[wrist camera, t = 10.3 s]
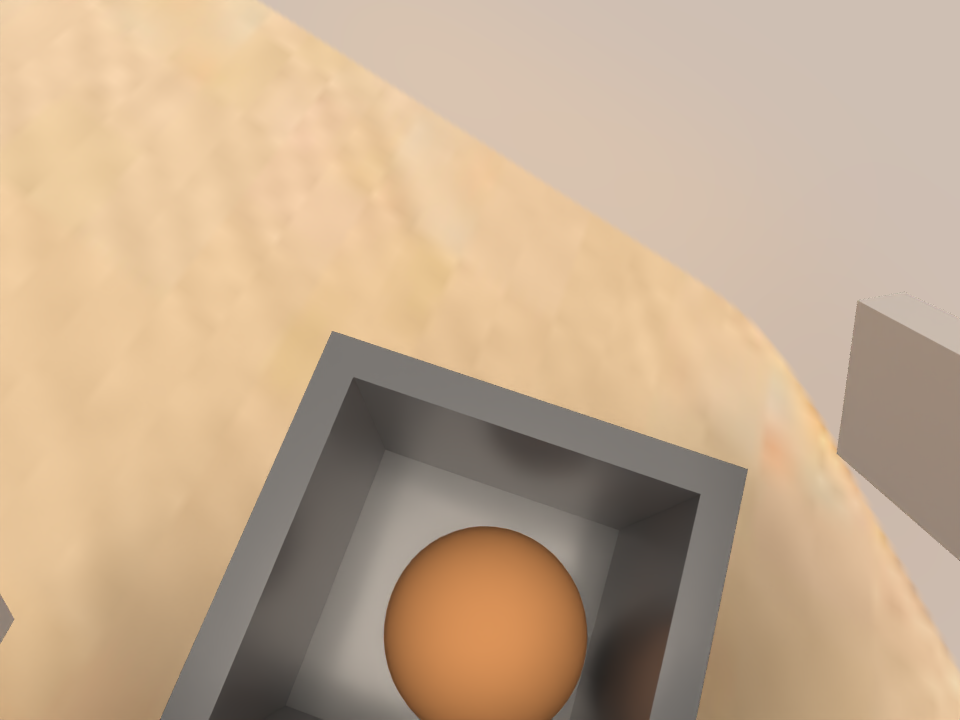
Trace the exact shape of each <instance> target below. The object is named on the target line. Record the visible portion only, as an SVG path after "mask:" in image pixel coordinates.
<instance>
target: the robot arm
mask: <svg viewBox="0 0 960 720" xmlns="http://www.w3.org/2000/svg"><path fill="white" fill-rule="evenodd" d="M837 454H838V455H839V456H840V457H841V458H842V459H843V460H845V461H846V462H847V463H848V464H849V465H850V466H851V467H853V468H854V469H855V470H856V471H857V472H858V473H859V474H861V475H862V476H863V477H864V478H865V479H867V480H868V481H869V482H870V483H871V484H872V485H873V486H874V487H876V488H877V489H878V490H879V491H880V492H881V493H882V494H884V495H885V496H886V497H887V498H888V499H889V500H891V501H892V502H893V503H894V504H895V505H896V506H897V507H899V508H900V509H901V510H902V511H903V512H904V513H905V514H907V515H908V516H909V517H910V518H911V519H912V520H913V521H915V522H916V523H917V524H918V525H919V526H920V527H921V528H923V529H924V530H925V531H926V532H927V533H928V534H930V535H931V536H932V537H933V538H934V539H935V540H936V541H938V542H939V543H940V544H941V545H942V546H943V547H944V548H946V549H947V550H948V551H949V552H950V553H951V554H953V555H954V556H955V557H956V558H957V559H958V560H959V561H960V318H958V317H957V316H955V315H952V314H950V313H948V312H946V311H944V310H942V309H940V308H937V307H935V306H933V305H931V304H929V303H927V302H925V301H923V300H921V299H919V298H916V297H914V296H912V295H910V294H908V293H906V292H902V293H896V294H891V295H885V296H879V297H874V298H868V299H863V300H858V301H857V309H856V316H855V323H854V330H853V338H852V346H851V352H850V360H849V367H848V374H847V382H846V389H845V397H844V404H843V411H842V419H841V426H840V433H839V440H838V448H837ZM13 621H14V618H13V616H12V614H11V612H10V611H9V609H8V607H7V605H6V603H5V602H4V600H3V598H2V596H1V595H0V643H1V642H2V640H3V638H4V637H5V635H6V633H7V631H8V630H9V628H10V626H11V624H12V623H13Z"/></svg>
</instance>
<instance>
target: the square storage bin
mask: <svg viewBox="0 0 960 720" xmlns="http://www.w3.org/2000/svg"><path fill="white" fill-rule="evenodd" d="M747 471H748V469H745V468H742V467H739V466H736V465H733V464H730V463H727V462H724V461H721V460H718V459H715V458H712V457H709V456H706V455H703V454H700V453H697V452H694V451H691V450H688V449H685V448H682V447H679V446H676V445H673V444H670V443H667V442H664V441H661V440H658V439H655V438H652V437H649V436H646V435H643V434H640V433H637V432H634V431H631V430H628V429H625V428H622V427H619V426H616V425H613V424H610V423H607V422H604V421H601V420H598V419H595V418H592V417H589V416H586V415H583V414H580V413H577V412H574V411H571V410H568V409H565V408H562V407H559V406H556V405H553V404H550V403H547V402H544V401H541V400H538V399H535V398H532V397H529V396H526V395H523V394H520V393H517V392H514V391H511V390H508V389H505V388H502V387H499V386H496V385H493V384H490V383H487V382H484V381H481V380H478V379H475V378H472V377H469V376H466V375H463V374H460V373H457V372H454V371H451V370H448V369H445V368H442V367H439V366H436V365H433V364H430V363H427V362H424V361H421V360H418V359H415V358H412V357H409V356H406V355H403V354H400V353H397V352H394V351H391V350H388V349H385V348H382V347H379V346H376V345H373V344H370V343H367V342H364V341H361V340H358V339H355V338H352V337H349V336H346V335H343V334H340V333H337V332H334V331H332V333H331V335H330V337H329V340H328V342H327V344H326V346H325V349H324V351H323V353H322V355H321V358H320V360H319V362H318V364H317V367H316V369H315V371H314V373H313V376H312V378H311V380H310V382H309V385H308V387H307V389H306V391H305V394H304V396H303V398H302V400H301V403H300V405H299V407H298V409H297V412H296V414H295V416H294V418H293V421H292V423H291V425H290V427H289V430H288V432H287V434H286V437H285V439H284V441H283V443H282V446H281V448H280V450H279V452H278V455H277V457H276V459H275V461H274V464H273V466H272V468H271V470H270V473H269V475H268V477H267V479H266V482H265V484H264V486H263V488H262V491H261V493H260V495H259V497H258V500H257V502H256V504H255V506H254V509H253V511H252V513H251V515H250V518H249V520H248V522H247V525H246V527H245V529H244V531H243V534H242V536H241V538H240V540H239V543H238V545H237V547H236V549H235V552H234V554H233V556H232V558H231V561H230V563H229V565H228V567H227V570H226V572H225V574H224V576H223V579H222V581H221V583H220V585H219V588H218V590H217V592H216V594H215V597H214V599H213V601H212V603H211V606H210V608H209V610H208V612H207V615H206V617H205V619H204V622H203V624H202V626H201V628H200V631H199V633H198V635H197V637H196V640H195V642H194V644H193V646H192V649H191V651H190V653H189V655H188V658H187V660H186V662H185V664H184V667H183V669H182V671H181V673H180V676H179V678H178V680H177V682H176V685H175V687H174V689H173V691H172V694H171V696H170V698H169V700H168V703H167V705H166V707H165V710H164V712H163V714H162V716H161V719H160V720H421V719H419V718H418V717H417V716H416V715H415V714H414V712H413V711H412V710H411V709H410V708H409V707H408V705H407V704H406V703H405V701H404V700H403V698H402V697H401V695H400V694H399V692H398V690H397V688H396V686H395V684H394V682H393V680H392V677H391V674H390V671H389V669H388V665H387V660H386V655H385V648H384V623H385V617H386V610H387V607H388V603H389V600H390V596H391V594H392V592H393V589H394V587H395V584H396V583H397V581H398V579H399V577H400V576H401V574H402V572H403V571H404V569H405V568H406V567H407V565H408V564H409V563H410V561H411V560H412V559H413V558H414V557H415V556H416V555H417V554H418V553H419V552H420V551H421V550H423V549H424V548H425V547H426V546H428V545H429V544H430V543H432V542H433V541H435V540H437V539H439V538H440V537H442V536H445V535H447V534H449V533H452V532H454V531H458V530H461V529H465V528H470V527H478V526H492V527H499V528H506V529H510V530H513V531H516V532H519V533H522V534H524V535H526V536H528V537H530V538H532V539H534V540H535V541H537V542H538V543H540V544H541V545H543V546H544V547H546V548H547V549H548V550H549V551H550V552H551V553H553V554H554V555H555V556H556V558H557V559H558V560H559V561H560V562H561V563H562V564H563V566H564V567H565V568H566V570H567V571H568V573H569V574H570V576H571V577H572V579H573V581H574V583H575V585H576V587H577V589H578V591H579V594H580V597H581V599H582V603H583V607H584V610H585V616H586V623H587V648H586V656H585V661H584V665H583V669H582V672H581V675H580V678H579V680H578V682H577V684H576V687H575V689H574V691H573V692H572V694H571V696H570V697H569V699H568V701H567V702H566V703H565V705H564V706H563V707H562V708H561V710H560V711H559V712H558V713H557V714H556V715H555V716H554V717H553V718H552V719H551V720H696V717H697V712H698V707H699V703H700V698H701V693H702V688H703V683H704V678H705V674H706V669H707V664H708V659H709V654H710V649H711V645H712V640H713V635H714V630H715V625H716V620H717V616H718V611H719V606H720V601H721V596H722V591H723V587H724V582H725V577H726V572H727V567H728V562H729V558H730V553H731V548H732V543H733V538H734V533H735V529H736V524H737V519H738V514H739V509H740V504H741V500H742V495H743V490H744V485H745V480H746V475H747Z"/></svg>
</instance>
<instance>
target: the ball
mask: <svg viewBox="0 0 960 720" xmlns="http://www.w3.org/2000/svg"><path fill="white" fill-rule="evenodd" d="M384 648H385V655H386V660H387V665H388V669H389V671H390V674H391V677H392V680H393V682H394V684H395V686H396V688H397V690H398V692H399V694H400V695H401V697H402V698H403V700H404V701H405V703H406V704H407V705H408V707H409V708H410V709H411V710H412V711H413V712H414V714H415V715H416V716H417V717H418V718H419V719H421V720H551V719H552V718H553V717H554V716H555V715H556V714H557V713H558V712H559V711H560V710H561V708H562V707H563V706H564V705H565V703H566V702H567V701H568V699H569V697H570V696H571V694H572V692H573V691H574V689H575V687H576V684H577V682H578V680H579V678H580V675H581V672H582V669H583V665H584V661H585V656H586V648H587V623H586V616H585V610H584V607H583V603H582V599H581V597H580V594H579V591H578V589H577V587H576V585H575V583H574V581H573V579H572V577H571V576H570V574H569V573H568V571H567V570H566V568H565V567H564V566H563V564H562V563H561V562H560V561H559V560H558V559H557V558H556V556H555V555H554V554H553V553H551V552H550V551H549V550H548V549H547V548H546V547H544V546H543V545H541V544H540V543H538V542H537V541H535V540H534V539H532V538H530V537H528V536H526V535H524V534H522V533H519V532H516V531H513V530H510V529H506V528H499V527H492V526H478V527H470V528H465V529H461V530H458V531H454V532H452V533H449V534H447V535H445V536H442V537H440V538H439V539H437V540H435V541H433V542H432V543H430V544H429V545H428V546H426V547H425V548H424V549H423V550H421V551H420V552H419V553H418V554H417V555H416V556H415V557H414V558H413V559H412V560H411V561H410V563H409V564H408V565H407V567H406V568H405V569H404V571H403V572H402V574H401V576H400V577H399V579H398V581H397V583H396V584H395V587H394V589H393V592H392V594H391V596H390V600H389V603H388V607H387V610H386V617H385V623H384Z"/></svg>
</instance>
